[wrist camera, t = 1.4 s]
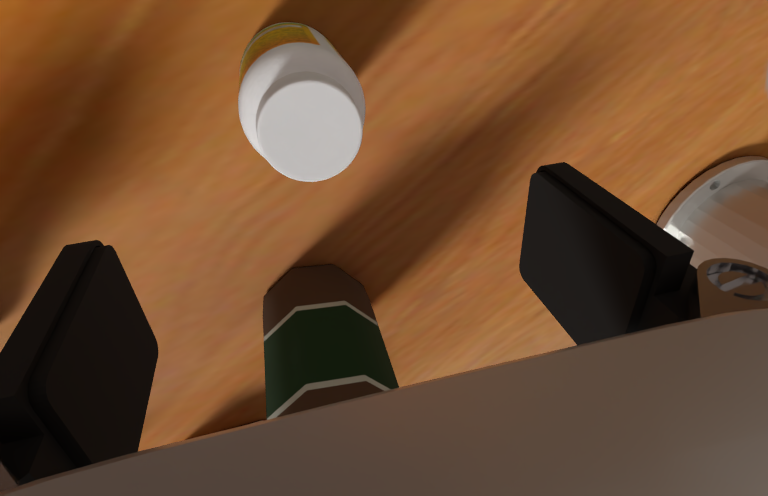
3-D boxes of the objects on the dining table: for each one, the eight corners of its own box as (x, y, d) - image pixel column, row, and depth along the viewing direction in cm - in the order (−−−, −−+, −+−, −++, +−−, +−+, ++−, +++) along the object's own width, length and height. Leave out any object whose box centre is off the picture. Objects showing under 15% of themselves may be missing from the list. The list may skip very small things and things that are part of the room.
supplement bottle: (224, 96, 25) (212, 166, 17) (265, -2, 23) (274, 26, 15) (314, 139, 28) (339, 218, 20) (358, 54, 26) (406, 103, 18)
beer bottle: (238, 288, 32) (222, 833, 12) (342, 241, 32) (491, 714, 12) (290, 357, 36) (338, 837, 17) (381, 316, 36) (535, 749, 17)
